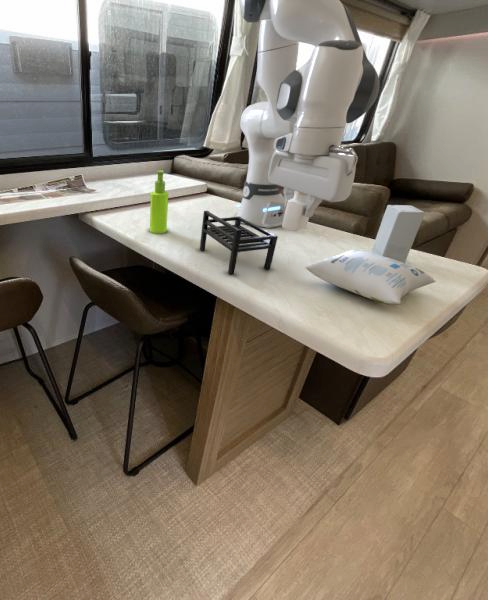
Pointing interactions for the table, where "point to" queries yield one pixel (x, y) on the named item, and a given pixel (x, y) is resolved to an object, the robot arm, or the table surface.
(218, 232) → the rack
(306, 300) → the table surface
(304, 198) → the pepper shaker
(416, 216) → the cosmetic box
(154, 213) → the soap dispenser
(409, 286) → the pouch
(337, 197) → the robot arm
